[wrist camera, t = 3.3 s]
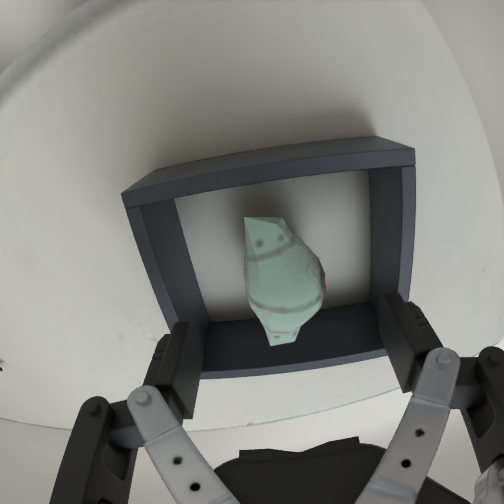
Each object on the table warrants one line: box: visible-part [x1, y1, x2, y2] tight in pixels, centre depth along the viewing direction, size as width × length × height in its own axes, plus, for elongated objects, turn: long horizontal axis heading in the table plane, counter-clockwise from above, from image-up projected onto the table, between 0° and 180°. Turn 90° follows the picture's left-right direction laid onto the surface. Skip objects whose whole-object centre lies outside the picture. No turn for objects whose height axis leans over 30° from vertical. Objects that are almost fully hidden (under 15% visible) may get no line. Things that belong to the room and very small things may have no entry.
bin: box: [121, 136, 416, 379], centre depth 17 cm, size 14×13×5 cm
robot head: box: [244, 217, 326, 346], centre depth 17 cm, size 8×4×7 cm, turn 10°
